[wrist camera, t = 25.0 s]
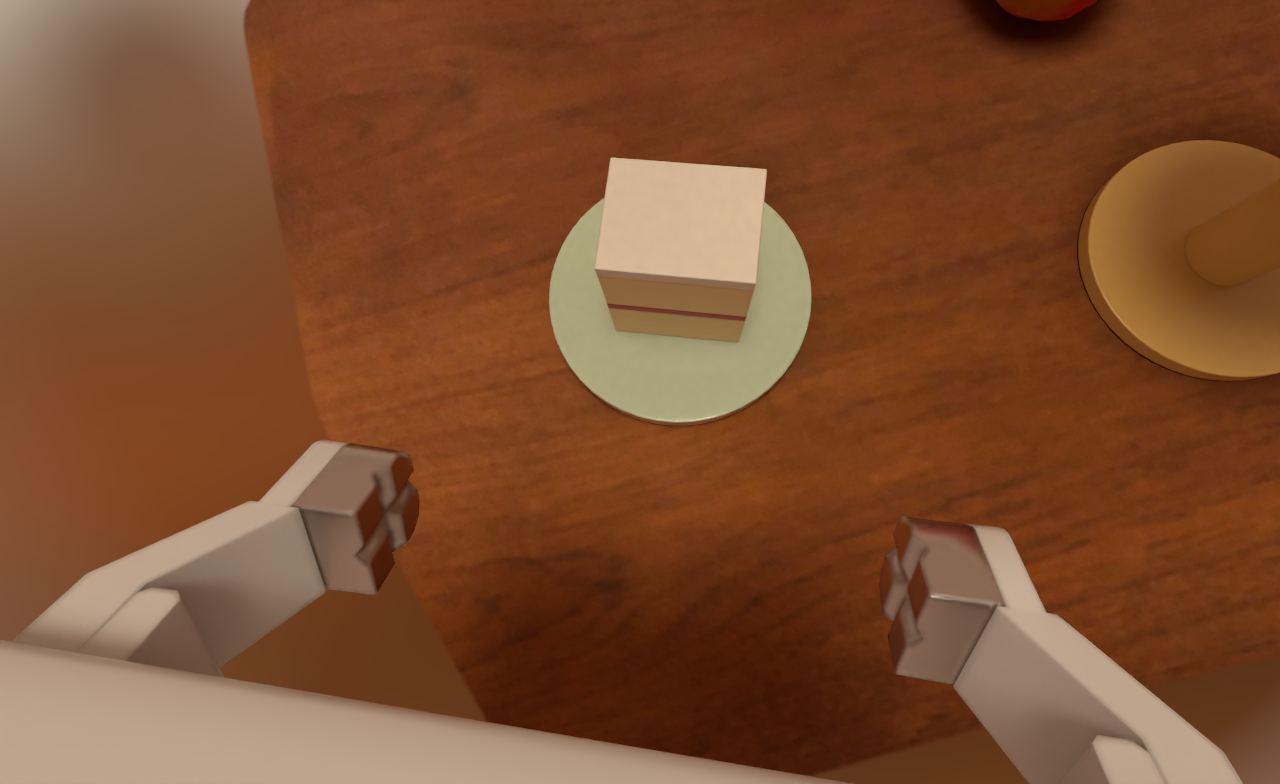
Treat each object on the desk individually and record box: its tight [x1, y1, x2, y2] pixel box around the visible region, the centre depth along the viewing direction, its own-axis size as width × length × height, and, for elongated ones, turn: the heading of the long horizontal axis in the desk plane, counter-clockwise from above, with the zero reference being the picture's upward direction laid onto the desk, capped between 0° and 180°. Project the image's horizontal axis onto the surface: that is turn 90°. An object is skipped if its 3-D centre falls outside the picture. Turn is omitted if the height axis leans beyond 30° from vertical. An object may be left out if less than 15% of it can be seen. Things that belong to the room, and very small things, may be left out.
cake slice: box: [594, 158, 767, 343], centre depth 30 cm, size 5×6×8 cm
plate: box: [549, 198, 812, 426], centre depth 35 cm, size 14×14×1 cm
